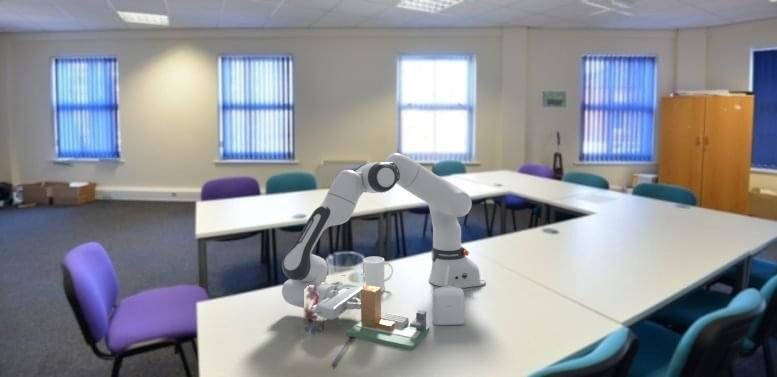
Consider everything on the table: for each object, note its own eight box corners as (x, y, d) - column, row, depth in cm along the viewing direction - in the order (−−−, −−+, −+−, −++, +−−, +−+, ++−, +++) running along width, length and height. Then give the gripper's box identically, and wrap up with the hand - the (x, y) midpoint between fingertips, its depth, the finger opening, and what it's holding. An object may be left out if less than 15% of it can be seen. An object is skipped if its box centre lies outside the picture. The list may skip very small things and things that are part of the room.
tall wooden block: (361, 325, 153) (360, 289, 151) (367, 320, 157) (366, 285, 155) (389, 331, 149) (389, 294, 147) (395, 326, 153) (395, 290, 151)
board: (346, 335, 150) (346, 315, 149) (367, 317, 163) (367, 299, 162) (412, 350, 141) (412, 329, 140) (429, 330, 153) (429, 311, 152)
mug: (391, 284, 193) (391, 255, 191) (395, 292, 185) (394, 261, 183) (362, 285, 191) (361, 256, 189) (364, 294, 183) (363, 263, 181)
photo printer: (433, 326, 156) (433, 289, 154) (431, 320, 160) (432, 284, 158) (464, 326, 156) (465, 289, 154) (463, 320, 160) (463, 284, 158)
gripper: (307, 300, 151) (345, 308, 145) (341, 279, 169) (376, 285, 163) (307, 319, 152) (346, 328, 146) (341, 296, 170) (376, 303, 164)
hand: (362, 305), depth 154 cm, fingers closed
